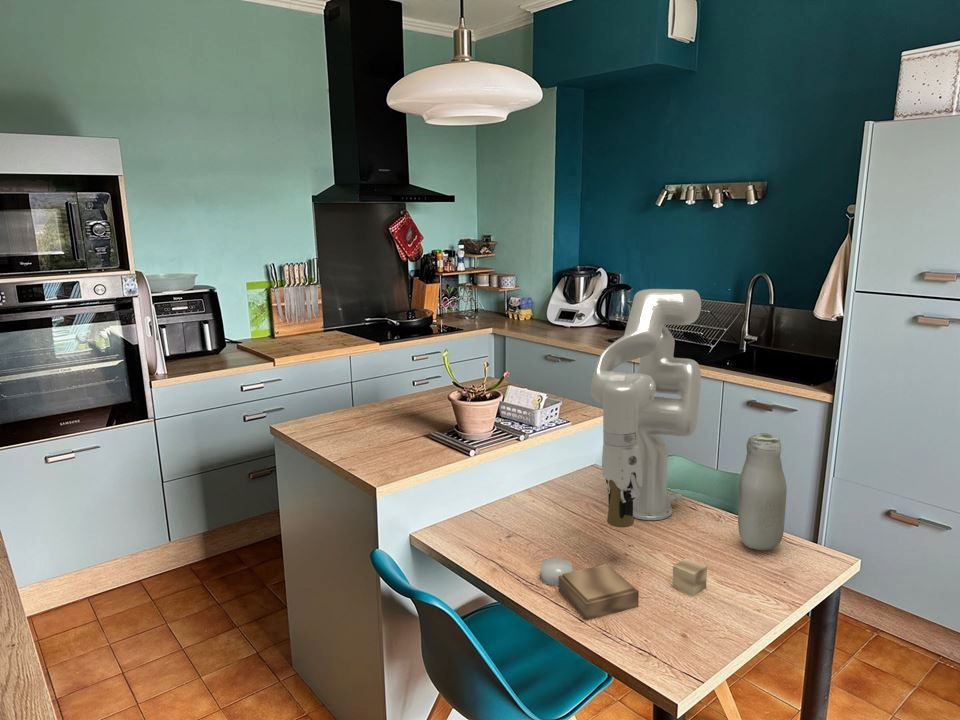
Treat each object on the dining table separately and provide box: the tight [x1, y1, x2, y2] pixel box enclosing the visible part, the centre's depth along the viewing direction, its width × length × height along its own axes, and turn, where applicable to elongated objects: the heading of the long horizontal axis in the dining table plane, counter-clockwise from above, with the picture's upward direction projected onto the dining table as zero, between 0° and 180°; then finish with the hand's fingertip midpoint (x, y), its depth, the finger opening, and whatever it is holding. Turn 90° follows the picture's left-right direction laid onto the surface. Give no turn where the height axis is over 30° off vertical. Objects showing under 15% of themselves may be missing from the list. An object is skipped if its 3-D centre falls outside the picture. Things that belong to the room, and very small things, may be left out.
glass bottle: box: [737, 432, 788, 551], centre depth 160 cm, size 10×10×28 cm
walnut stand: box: [558, 563, 640, 621], centre depth 143 cm, size 12×12×4 cm
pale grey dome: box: [540, 557, 574, 587], centre depth 152 cm, size 7×7×3 cm
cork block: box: [671, 557, 708, 597], centre depth 146 cm, size 5×5×5 cm
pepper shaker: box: [606, 480, 635, 529], centre depth 155 cm, size 6×6×11 cm
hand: (620, 511), depth 156 cm, fingers closed on pepper shaker, 3 cm apart
